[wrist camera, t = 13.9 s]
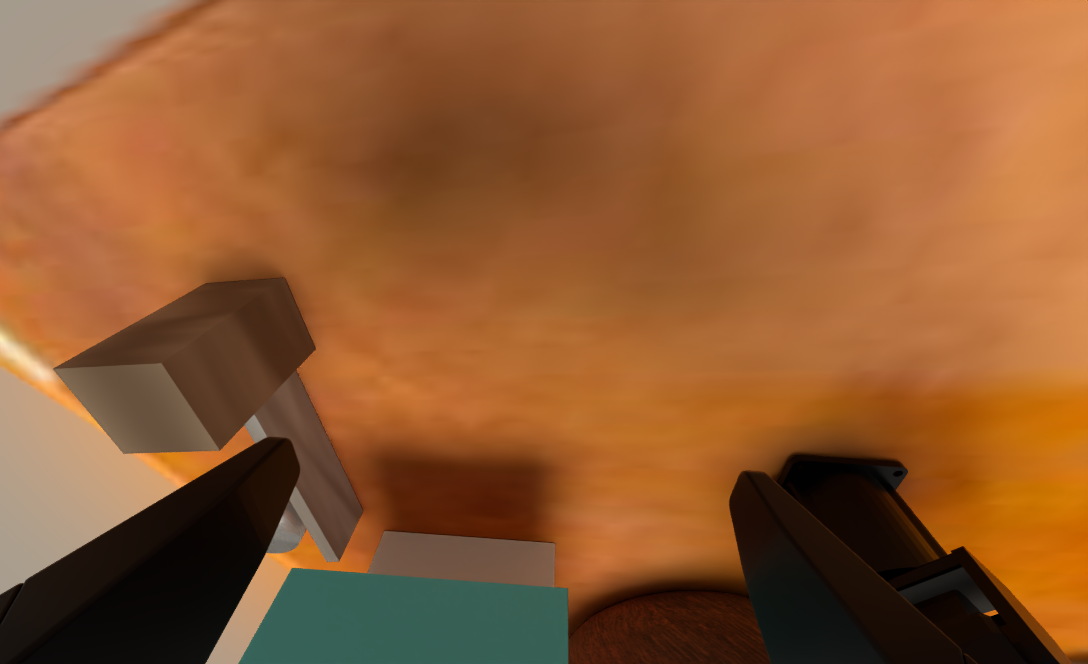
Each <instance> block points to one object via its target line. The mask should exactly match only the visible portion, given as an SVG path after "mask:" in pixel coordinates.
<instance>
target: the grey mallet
mask: <svg viewBox="0 0 1088 664" xmlns="http://www.w3.org/2000/svg"><path fill="white" fill-rule="evenodd" d="M314 350H315V347H314V344H313V342H312V340H311V337H310V335H309V333H308V331H307V328H306V326H305V324H304V321H303V319H302V317H301V315H300V312H299V310H298V308H297V305H296V303H295V301H294V298H293V296H292V294H291V292H290V289H289V287H288V285H287V282H286V280H285V278H275V279H260V280H246V281H231V282H217V283H206V284H204V285H202V286H200V287H198V288H197V289H195V290H193V291H191V292H189V293H188V294H186V295H184V296H182V297H181V298H179V299H177V300H175V301H173V302H172V303H170V304H168V305H166V306H164V307H163V308H161V309H159V310H157V311H155V312H154V313H152V314H150V315H148V316H147V317H145V318H143V319H141V320H139V321H138V322H136V323H134V324H132V325H130V326H129V327H127V328H125V329H123V330H121V331H120V332H118V333H116V334H114V335H113V336H111V337H109V338H107V339H105V340H104V341H102V342H100V343H98V344H96V345H95V346H93V347H91V348H89V349H87V350H86V351H84V352H82V353H80V354H79V355H77V356H75V357H73V358H71V359H70V360H68V361H66V362H64V363H62V364H61V365H59V366H57V367H55V368H53V370H54V371H55V372H56V373H57V375H58V376H59V377H60V378H61V379H62V381H63V382H64V383H65V384H66V385H67V387H68V388H69V389H70V390H71V391H72V393H73V394H74V395H75V396H76V397H77V399H78V400H79V401H80V402H81V403H82V405H83V406H84V407H85V408H86V409H87V411H88V412H89V413H90V414H91V415H92V417H93V418H94V419H95V420H96V421H97V423H98V424H99V425H100V426H101V427H102V429H103V430H104V431H105V432H106V433H107V435H108V436H109V437H110V438H111V439H112V440H113V442H114V443H115V444H116V445H117V446H118V448H119V449H120V450H121V451H122V452H123V454H128V453H160V452H192V451H220V450H221V449H222V448H223V447H224V446H225V445H226V444H227V443H228V441H229V440H230V439H231V438H232V437H233V436H234V435H235V434H236V433H237V432H238V431H239V430H240V429H241V428H242V427H243V426H244V425H245V427H246V429H247V430H248V432H249V434H250V435H251V437H252V439H253V440H254V442H255V443H257V442H259V441H260V440H262V439H264V438H266V437H285V438H289V439H290V440H291V441H292V443H293V446H294V449H295V452H296V455H297V458H298V461H299V463H300V475H299V479H298V481H297V483H296V486H295V488H294V490H293V493H292V495H291V497H290V502H291V503H292V505H293V507H294V508H295V510H296V512H297V513H298V515H299V517H300V518H301V520H302V522H303V523H304V525H305V526H306V528H307V530H308V531H309V533H310V535H311V536H312V538H313V540H314V541H315V543H316V545H317V546H318V548H319V550H320V551H321V553H322V555H323V556H324V558H325V560H326V561H327V562H339V561H340V559H341V557H342V555H343V553H344V550H345V548H346V546H347V544H348V542H349V540H350V538H351V536H352V534H353V532H354V529H355V527H356V525H357V523H358V521H359V519H360V517H361V515H362V513H363V509H362V507H361V505H360V503H359V501H358V499H357V497H356V495H355V493H354V491H353V488H352V486H351V484H350V482H349V480H348V478H347V476H346V474H345V472H344V470H343V468H342V465H341V463H340V461H339V459H338V457H337V455H336V453H335V451H334V449H333V447H332V445H331V442H330V440H329V438H328V436H327V434H326V432H325V430H324V428H323V426H322V424H321V422H320V420H319V417H318V415H317V413H316V411H315V409H314V407H313V405H312V403H311V401H310V399H309V397H308V394H307V392H306V390H305V388H304V386H303V384H302V382H301V380H300V378H299V376H298V374H297V371H296V369H297V368H298V367H299V366H300V365H301V364H302V363H303V362H304V361H305V360H306V359H307V358H308V357H309V355H310V354H311V353H312V352H313V351H314Z"/></svg>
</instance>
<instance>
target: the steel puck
mask: <svg viewBox="0 0 1088 664" xmlns="http://www.w3.org/2000/svg"><path fill="white" fill-rule="evenodd" d="M306 530H307V528H306V526H305V525H304V523H303V522H302V520H301V518H300V517H299V515H298V513H297V512H296V510H295V508H294V507H293V505H292V503H291V502H290V500H289V502H288V504H287V507H286V509H285V511H284V514H283V516H282V518H281V521H280V523H279V525H278V528H277V530H276V532H275V534H274V537H273V539H272V541H271V543H270V546H269V548H268V550H267V552H266V553H284V552H288V551H291V550H293V549H294V548H296V547H297V546H298V544H299V542H300V540H301V539H302V537H303V535H304V534H305V532H306Z"/></svg>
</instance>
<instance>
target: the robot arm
mask: <svg viewBox="0 0 1088 664" xmlns="http://www.w3.org/2000/svg"><path fill="white" fill-rule="evenodd" d="M907 473H908V470H907V469H906V468H905V467H904V465H903V464H901V463H900V462H890V461H876V460H862V459H848V458H834V457H820V456H806V455H796V456H793V457H792V458H790V459H789V461H788V462H787V464H786V466H785V468H784V470H783V472H782V474H781V476H780V478H779V480H778V482H777V483H776V482H775V481H774V480H773V479H772V478H771V477H770V476H768V475H767V474H766V473H764V472H760V471H747V470H745V471H742V472H741V473H740V475H739V477H738V479H737V482H736V484H735V486H734V489H733V491H732V493H731V496H730V500H729V508H730V513H731V518H732V522H733V527H734V532H735V537H736V541H737V546H738V551H739V555H740V560H741V565H742V569H743V574H744V578H745V583H746V587H747V590H748V594H749V597H750V600H751V604H752V607H753V610H754V613H755V616H756V619H757V622H758V625H759V629H760V632H761V635H762V638H763V641H764V644H765V647H766V650H767V653H768V657H769V660H770V663H771V664H1072V663H1071V661H1070V660H1069V659H1068V657H1067V656H1066V655H1065V654H1064V652H1063V651H1062V650H1061V648H1060V647H1059V646H1058V645H1057V643H1056V642H1055V641H1054V640H1053V639H1052V637H1051V636H1050V635H1049V634H1048V633H1047V632H1046V631H1045V629H1044V628H1043V627H1042V626H1041V625H1040V624H1039V623H1038V622H1037V621H1036V619H1035V618H1034V617H1033V616H1032V615H1031V614H1030V613H1029V612H1028V611H1027V609H1026V608H1025V607H1024V606H1023V605H1022V604H1021V603H1020V602H1019V600H1018V599H1017V598H1016V597H1015V596H1014V595H1013V594H1012V593H1011V592H1010V590H1009V589H1008V588H1007V587H1006V586H1005V585H1004V584H1003V583H1002V582H1001V581H1000V580H999V579H997V578H996V577H995V576H994V575H993V574H992V573H991V572H990V571H989V570H988V569H987V568H986V567H985V566H984V565H983V564H982V563H981V562H979V561H978V560H977V559H976V558H975V557H974V556H973V555H972V554H971V553H970V552H969V551H968V550H967V549H966V548H965V547H964V546H962V547H959V548H957V549H954V550H952V551H951V552H952V553H951V554H949V555H947V553H946V552H945V551H944V550H943V548H942V547H941V546H940V545H939V543H938V542H937V541H936V540H935V539H934V537H933V536H932V535H931V534H930V532H929V531H928V530H927V529H926V527H925V526H924V525H923V524H922V522H921V521H920V520H919V519H918V518H917V516H916V515H915V514H914V513H913V511H912V510H911V509H910V508H909V506H908V505H907V504H906V503H905V501H904V500H903V499H902V498H901V497H900V495H899V494H898V493H897V492H896V489H897V487H898V486H899V484H900V483H901V482H902V480H903V479H904V478H905V476H906V475H907ZM299 475H300V463H299V461H298V458H297V455H296V452H295V449H294V446H293V443H292V441H291V440H290V439H289V438H285V437H266V438H264V439H262V440H260V441H259V442H257V443H255V444H253V445H252V446H250V447H248V448H247V449H245V450H243V451H242V452H240V453H238V454H237V455H235V456H233V457H232V458H230V459H228V460H227V461H225V462H223V463H221V464H220V465H218V466H216V467H215V468H213V469H211V470H210V471H208V472H206V473H205V474H203V475H201V476H200V477H198V478H196V479H195V480H193V481H191V482H189V483H188V484H186V485H184V486H183V487H181V488H179V489H178V490H176V491H174V492H173V493H171V494H169V495H168V496H166V497H164V498H163V499H161V500H159V501H157V502H156V503H154V504H152V505H151V506H149V507H147V508H146V509H144V510H142V511H141V512H139V513H137V514H136V515H134V516H132V517H131V518H129V519H127V520H126V521H124V522H122V523H120V524H119V525H117V526H115V527H114V528H112V529H110V530H109V531H107V532H105V533H104V534H102V535H100V536H99V537H97V538H95V539H93V540H92V541H90V542H89V543H87V544H85V545H83V546H82V547H80V548H78V549H77V550H75V551H73V552H72V553H70V554H68V555H67V556H65V557H63V558H61V559H60V560H58V561H56V562H55V563H53V564H51V565H50V566H48V567H46V568H45V569H43V570H41V571H39V572H38V573H36V574H34V575H33V576H31V577H29V578H28V579H27V580H26V581H25V582H24V583H20V584H18V585H16V586H14V587H12V588H11V589H9V590H7V591H6V592H4V593H2V594H1V595H0V664H205V663H206V662H207V660H208V658H209V656H210V654H211V652H212V651H213V649H214V647H215V645H216V643H217V642H218V640H219V638H220V636H221V634H222V633H223V631H224V629H225V627H226V625H227V623H228V622H229V620H230V618H231V616H232V614H233V613H234V611H235V609H236V607H237V605H238V604H239V602H240V600H241V598H242V596H243V594H244V593H245V591H246V589H247V587H248V585H249V584H250V582H251V580H252V578H253V576H254V575H255V573H256V571H257V569H258V567H259V565H260V564H261V562H262V560H263V558H264V556H265V554H266V552H267V550H268V548H269V546H270V543H271V541H272V539H273V537H274V534H275V532H276V530H277V528H278V525H279V523H280V521H281V518H282V516H283V514H284V511H285V509H286V507H287V504H288V502H289V500H290V497H291V495H292V493H293V490H294V488H295V486H296V483H297V481H298V479H299ZM992 610H996V611H997V612H998V613H999V614H996V615H993V616H988V615H985V614H983V613H986V612H989V611H992Z"/></svg>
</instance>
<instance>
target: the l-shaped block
mask: <svg viewBox="0 0 1088 664" xmlns="http://www.w3.org/2000/svg"><path fill="white" fill-rule="evenodd" d="M554 576H555V543H545V542H531V541H517V540H504V539H490V538H476V537H462V536H449V535H435V534H421V533H408V532H394V531H384V533H383V535H382V538H381V540H380V543H379V545H378V548H377V550H376V553H375V555H374V558H373V560H372V563H371V565H370V568H369V570H368V573H355V572H341V571H328V570H314V569H301V568H292V569H291V571H290V573H289V574H288V576H287V578H286V580H285V582H284V584H283V585H282V587H281V589H280V591H279V592H278V594H277V596H276V598H275V599H274V601H273V603H272V605H271V607H270V609H269V610H268V612H267V614H266V615H265V617H264V619H263V621H262V623H261V625H260V626H259V628H258V630H257V632H256V633H255V635H254V637H253V639H252V640H251V642H250V644H249V646H248V648H247V650H246V651H245V653H244V655H243V657H242V658H241V660H240V662H239V664H568V588H558V587H554Z"/></svg>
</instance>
